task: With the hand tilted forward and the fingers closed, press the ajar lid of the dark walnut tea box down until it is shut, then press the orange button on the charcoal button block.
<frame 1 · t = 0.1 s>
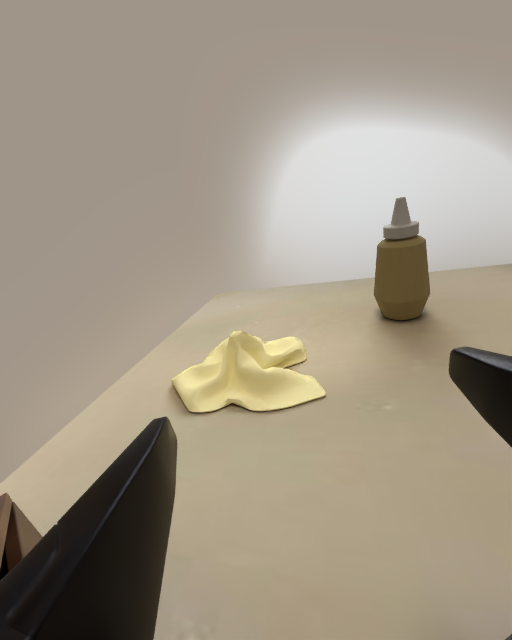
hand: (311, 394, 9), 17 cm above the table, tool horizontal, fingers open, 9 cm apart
cloth: (252, 372, 41), on the table
squeeze bottle: (401, 314, 48), on the table
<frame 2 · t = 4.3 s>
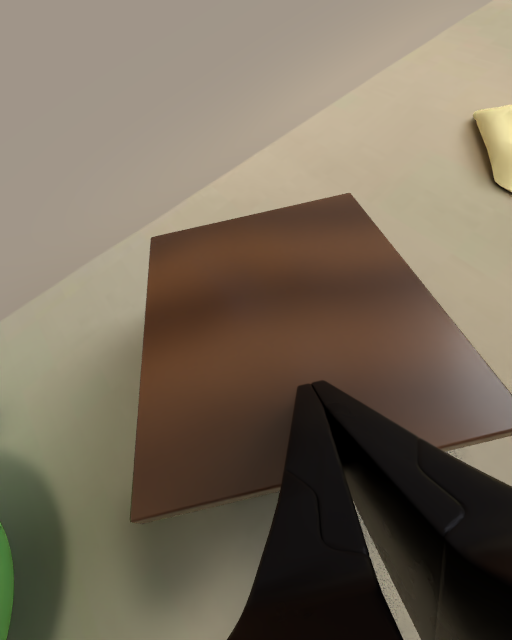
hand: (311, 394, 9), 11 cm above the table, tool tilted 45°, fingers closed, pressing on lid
lid: (279, 305, 12), point 9 cm above the table, hinge at 16.4°, touching gripper
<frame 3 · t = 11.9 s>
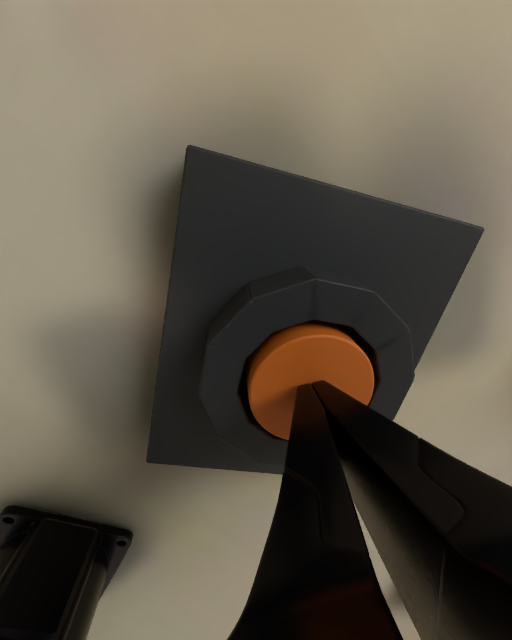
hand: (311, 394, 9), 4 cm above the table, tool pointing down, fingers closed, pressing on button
button: (305, 377, 10), point 3 cm above the table, slide at -0.9 cm, touching gripper
button block: (288, 339, 12), on the table
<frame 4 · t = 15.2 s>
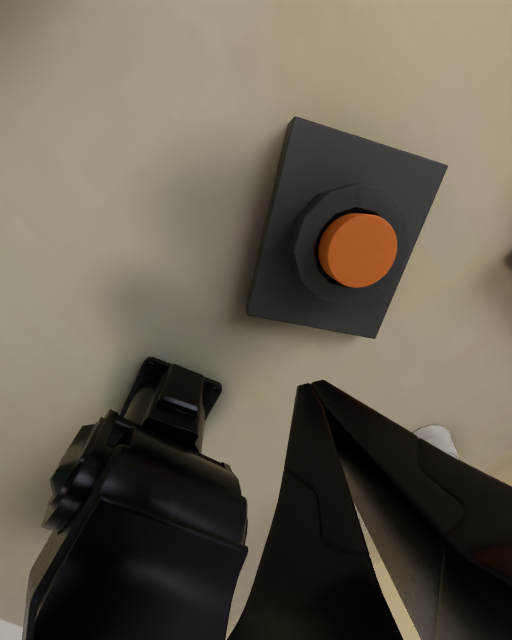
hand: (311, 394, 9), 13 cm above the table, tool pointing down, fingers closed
chalice: (425, 443, 29), on the table
button: (356, 250, 17), point 4 cm above the table, slide at 0.1 cm
button block: (332, 241, 20), on the table
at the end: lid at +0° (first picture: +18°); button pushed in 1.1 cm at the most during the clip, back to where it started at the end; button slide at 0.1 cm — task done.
